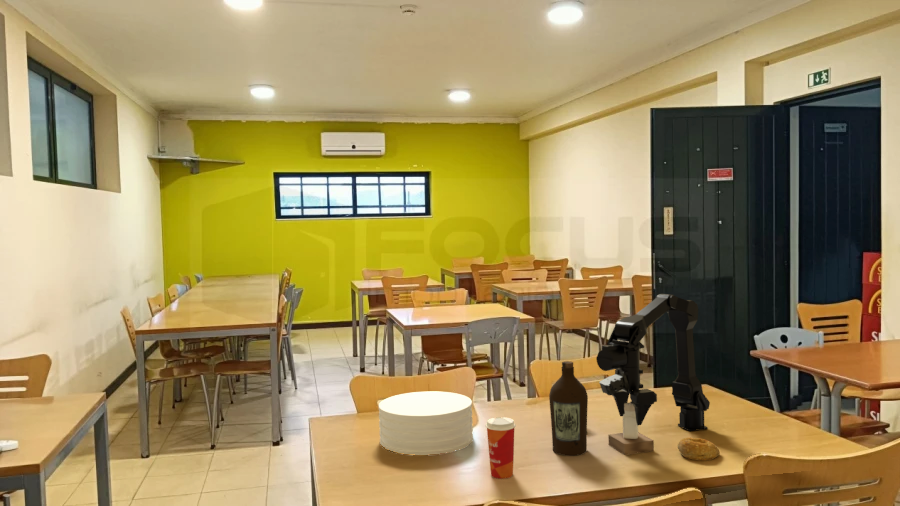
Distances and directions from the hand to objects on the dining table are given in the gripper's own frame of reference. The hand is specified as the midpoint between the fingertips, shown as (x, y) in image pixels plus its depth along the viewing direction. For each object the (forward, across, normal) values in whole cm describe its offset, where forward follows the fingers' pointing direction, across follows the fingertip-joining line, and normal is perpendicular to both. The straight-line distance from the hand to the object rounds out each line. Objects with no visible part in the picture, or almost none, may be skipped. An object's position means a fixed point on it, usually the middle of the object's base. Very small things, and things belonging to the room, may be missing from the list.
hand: (630, 420), depth 189 cm
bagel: (+8, +11, +14) cm, 20 cm away
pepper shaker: (+5, 0, 0) cm, 5 cm away
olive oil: (+8, -4, -17) cm, 19 cm away
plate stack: (+8, -28, -53) cm, 60 cm away
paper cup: (+8, +7, -41) cm, 42 cm away
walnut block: (+8, 0, 0) cm, 8 cm away
